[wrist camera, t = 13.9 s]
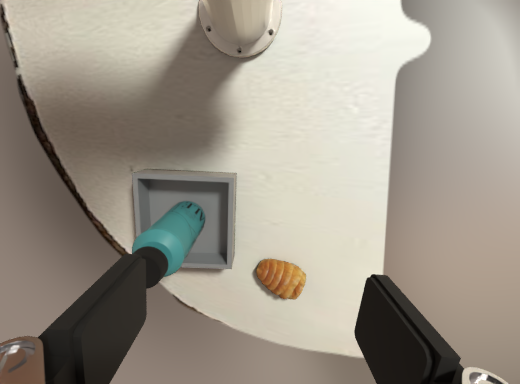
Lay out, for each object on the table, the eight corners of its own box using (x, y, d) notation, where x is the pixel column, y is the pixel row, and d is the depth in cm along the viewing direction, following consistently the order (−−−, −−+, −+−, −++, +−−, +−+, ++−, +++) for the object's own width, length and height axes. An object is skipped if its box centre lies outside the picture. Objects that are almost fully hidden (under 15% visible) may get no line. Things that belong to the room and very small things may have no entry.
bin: (145, 168, 44) (131, 173, 39) (236, 173, 44) (233, 177, 40) (150, 252, 48) (138, 265, 43) (234, 255, 48) (231, 269, 43)
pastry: (250, 277, 49) (249, 288, 46) (266, 248, 48) (266, 258, 44) (291, 296, 50) (294, 308, 47) (308, 269, 49) (312, 279, 45)
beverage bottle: (168, 226, 45) (103, 294, 26) (177, 192, 44) (114, 236, 25) (203, 236, 46) (165, 310, 26) (212, 202, 45) (179, 254, 25)
